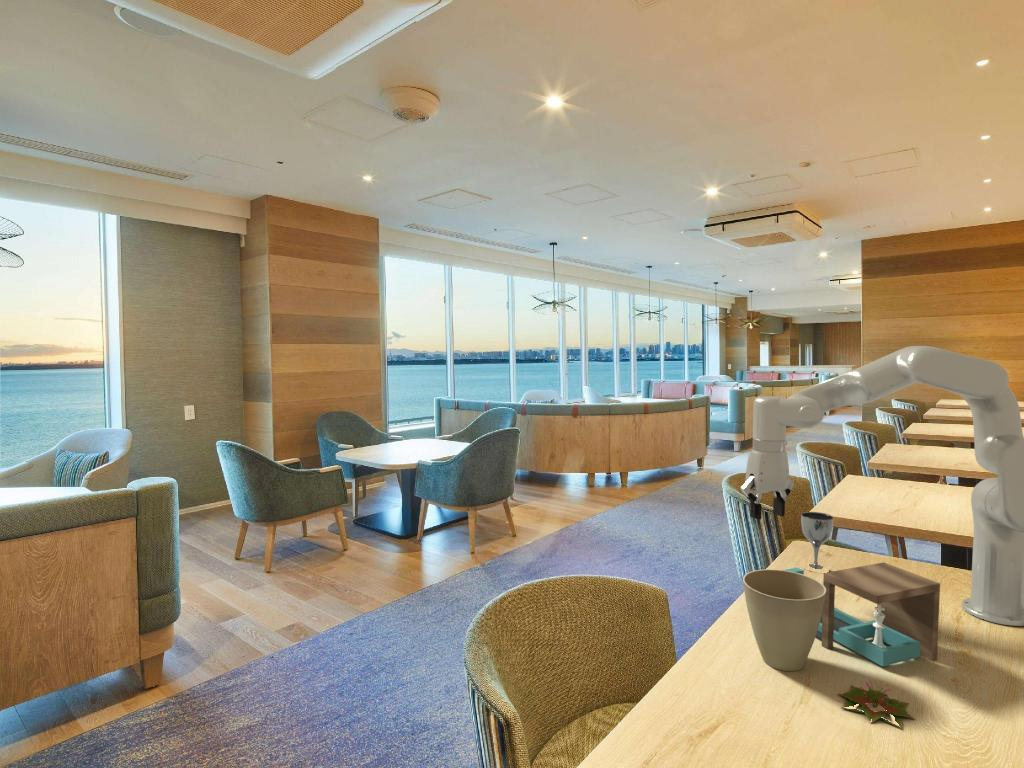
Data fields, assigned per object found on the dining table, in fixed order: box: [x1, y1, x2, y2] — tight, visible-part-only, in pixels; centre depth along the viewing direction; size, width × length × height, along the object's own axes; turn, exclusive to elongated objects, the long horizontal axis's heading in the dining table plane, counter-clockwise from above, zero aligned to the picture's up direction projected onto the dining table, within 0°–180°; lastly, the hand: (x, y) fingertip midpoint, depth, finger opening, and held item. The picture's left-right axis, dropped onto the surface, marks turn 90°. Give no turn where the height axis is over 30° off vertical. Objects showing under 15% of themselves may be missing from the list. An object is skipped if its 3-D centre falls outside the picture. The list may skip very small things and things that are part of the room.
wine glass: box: [800, 511, 834, 569], centre depth 165 cm, size 8×8×15 cm
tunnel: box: [815, 562, 941, 661], centre depth 125 cm, size 17×23×16 cm
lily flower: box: [838, 680, 915, 731], centre depth 102 cm, size 12×12×5 cm
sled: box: [784, 567, 921, 667], centre depth 130 cm, size 10×31×7 cm, turn 19°
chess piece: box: [872, 604, 887, 648], centre depth 120 cm, size 5×5×10 cm
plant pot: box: [742, 568, 826, 672], centre depth 116 cm, size 15×15×16 cm
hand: (767, 516), depth 148 cm, fingers open, 6 cm apart
